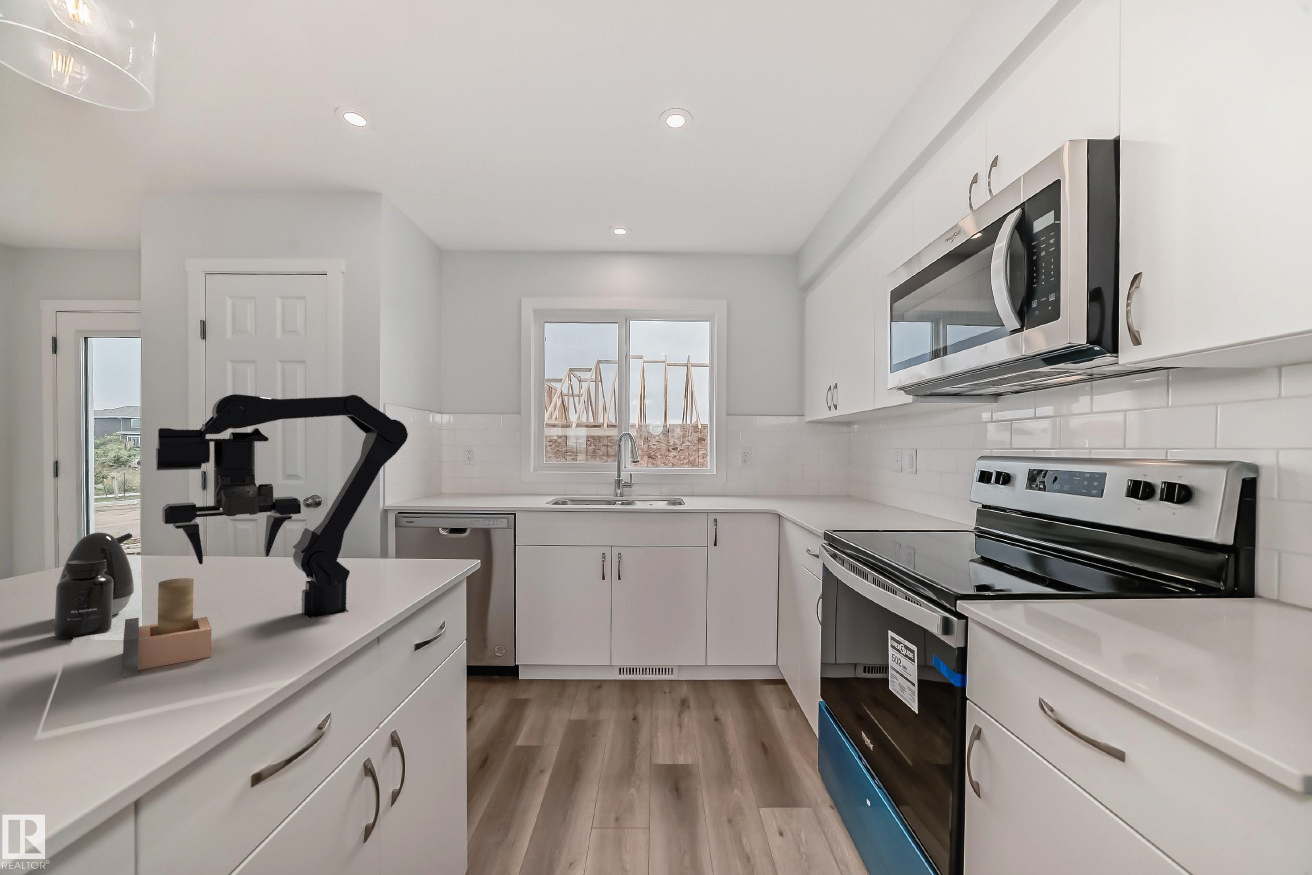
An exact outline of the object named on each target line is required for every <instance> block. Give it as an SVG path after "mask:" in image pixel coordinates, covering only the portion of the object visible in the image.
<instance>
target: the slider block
mask: <svg viewBox="0 0 1312 875" xmlns="http://www.w3.org/2000/svg"><path fill="white" fill-rule="evenodd" d="M157 633H158V623H156V624H149V625H148V624H147V625H142V626H140V625H139V637H138V671H140V670H145V669H152V668H157V667H163V666H168V665H172V664H178V663H183V662H184V663H185V662H189V661H194V660H200V659H206V658H211V657H212V626H211V625H210V621H209V619H208V616H203V617H197V618H193V630H189V631H183V632H176V633H170V634H163V635H157Z"/></svg>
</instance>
